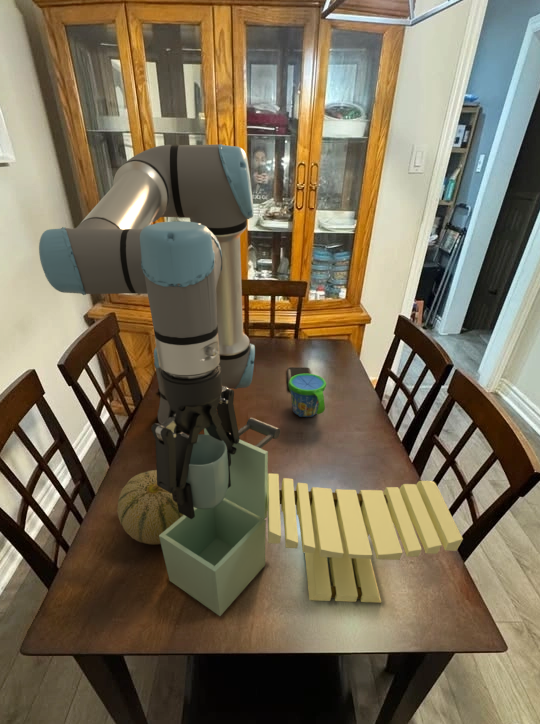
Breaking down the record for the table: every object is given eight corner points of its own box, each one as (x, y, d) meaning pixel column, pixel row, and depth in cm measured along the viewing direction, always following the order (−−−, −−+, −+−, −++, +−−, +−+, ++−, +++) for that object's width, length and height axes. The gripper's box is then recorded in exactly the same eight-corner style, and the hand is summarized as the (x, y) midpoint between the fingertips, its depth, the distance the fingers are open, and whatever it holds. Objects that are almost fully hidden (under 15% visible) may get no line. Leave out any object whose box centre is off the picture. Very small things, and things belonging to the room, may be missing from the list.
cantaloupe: (153, 499, 95) (142, 446, 86) (208, 519, 91) (202, 466, 81) (109, 544, 85) (90, 490, 76) (168, 569, 80) (156, 515, 71)
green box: (220, 616, 72) (215, 571, 64) (169, 580, 78) (158, 535, 70) (265, 565, 81) (265, 519, 73) (216, 536, 87) (212, 491, 79)
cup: (222, 520, 63) (218, 469, 56) (173, 512, 64) (164, 462, 57) (235, 486, 68) (233, 437, 62) (190, 480, 70) (183, 431, 63)
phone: (288, 387, 134) (287, 367, 146) (288, 391, 135) (287, 370, 147) (312, 388, 134) (309, 367, 146) (312, 391, 135) (309, 370, 146)
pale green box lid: (264, 454, 63) (297, 426, 69) (203, 427, 69) (238, 403, 75) (264, 519, 72) (293, 490, 78) (210, 490, 78) (240, 465, 84)
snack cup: (333, 421, 121) (337, 390, 115) (301, 428, 118) (303, 397, 112) (308, 396, 132) (311, 367, 126) (278, 403, 129) (279, 373, 123)
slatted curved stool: (404, 537, 87) (430, 472, 76) (427, 604, 75) (462, 539, 64) (262, 531, 86) (268, 465, 75) (262, 598, 74) (269, 531, 63)
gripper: (147, 410, 43) (175, 551, 58) (263, 346, 57) (262, 473, 71) (102, 390, 47) (139, 527, 61) (221, 333, 60) (229, 457, 74)
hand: (205, 498), depth 66 cm, fingers closed on cup, 8 cm apart
